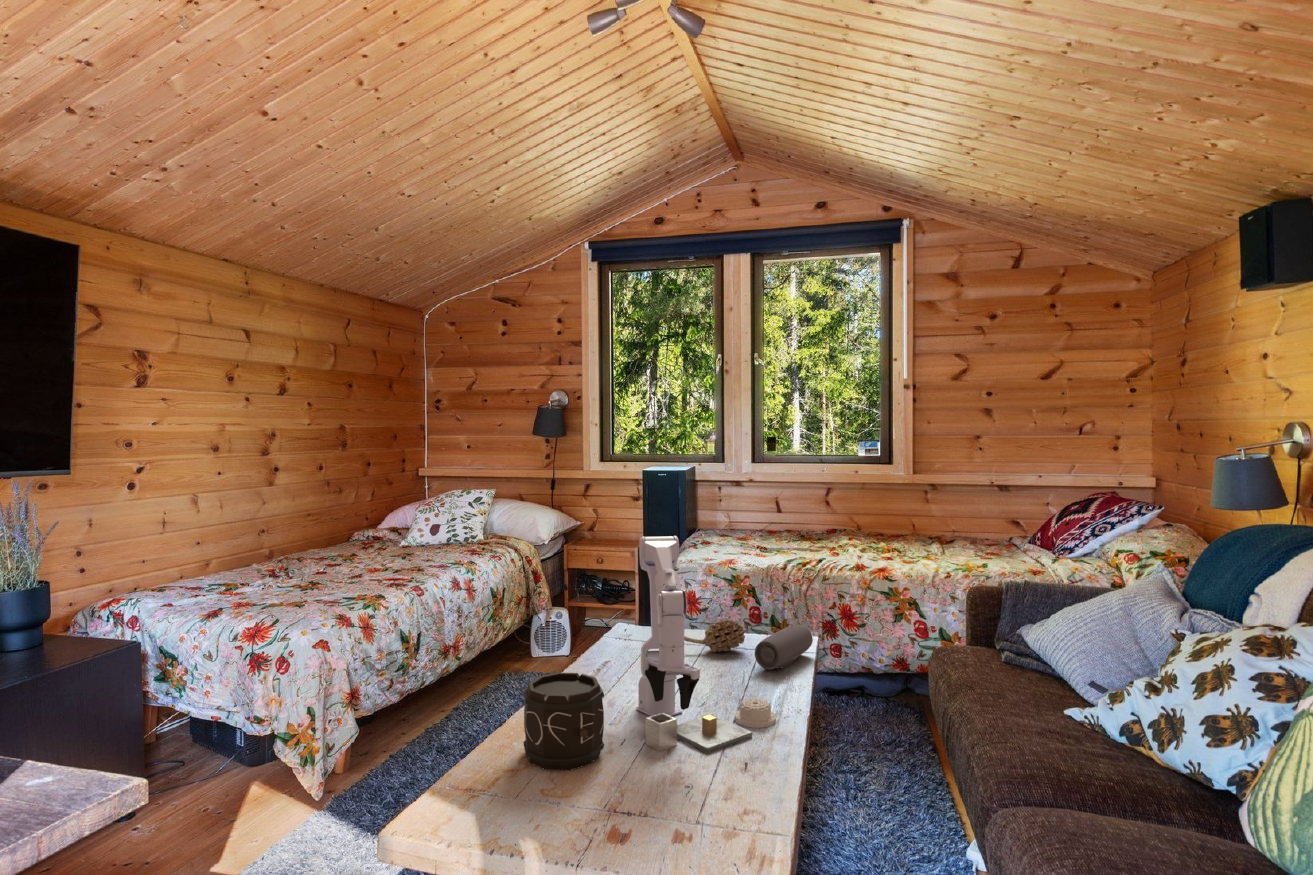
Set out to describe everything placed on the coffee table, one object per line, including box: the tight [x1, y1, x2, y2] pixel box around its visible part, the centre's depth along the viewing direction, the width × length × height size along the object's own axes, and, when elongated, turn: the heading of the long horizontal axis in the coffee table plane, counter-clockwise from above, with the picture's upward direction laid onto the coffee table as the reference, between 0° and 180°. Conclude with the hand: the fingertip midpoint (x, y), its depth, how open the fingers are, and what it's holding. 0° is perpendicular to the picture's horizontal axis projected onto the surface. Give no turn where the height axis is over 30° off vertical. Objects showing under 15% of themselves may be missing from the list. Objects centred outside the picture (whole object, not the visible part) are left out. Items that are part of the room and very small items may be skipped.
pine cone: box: [684, 619, 746, 653], centre depth 242 cm, size 22×10×10 cm, turn 98°
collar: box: [645, 713, 678, 752], centre depth 173 cm, size 5×5×6 cm
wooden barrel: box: [522, 672, 605, 771], centre depth 167 cm, size 18×18×16 cm
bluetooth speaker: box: [754, 623, 814, 670], centre depth 231 cm, size 23×9×10 cm, turn 144°
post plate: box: [677, 713, 753, 754], centre depth 178 cm, size 14×14×4 cm
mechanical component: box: [734, 697, 777, 729], centre depth 187 cm, size 10×4×10 cm
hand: (671, 704), depth 172 cm, fingers open, 7 cm apart
